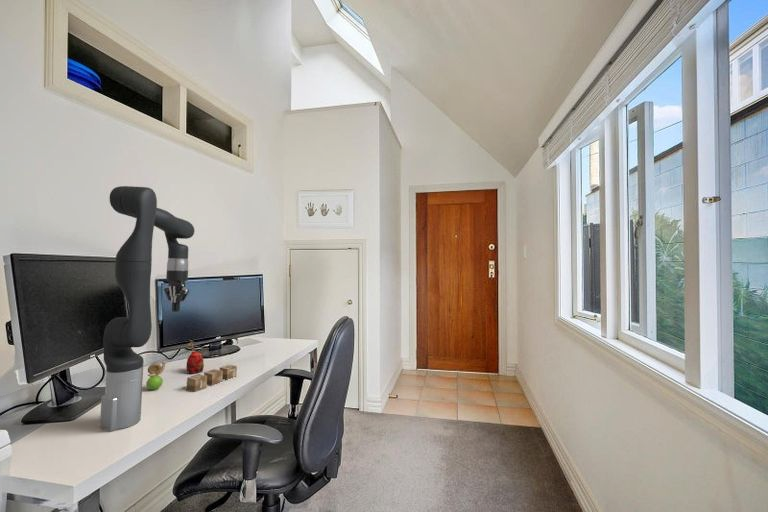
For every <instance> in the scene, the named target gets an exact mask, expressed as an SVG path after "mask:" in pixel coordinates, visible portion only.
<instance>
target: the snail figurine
mask: <svg viewBox="0 0 768 512" xmlns="http://www.w3.org/2000/svg"><path fill="white" fill-rule="evenodd" d="M164 359H165V360H163V361H162V362H161V363H162V364H160V363H157V362H155V363H151V364H150V365H149V366H148V367H147V376H148V377H149V378H148V379H147V380H146V384H145V385H146V388H147V389H148V390H151V391H155V390H158V389H159V388H160V387H162V386H163V382H164V380H163V377H162V376H161V375H162V373H163V372H164V370H165V367H166V364H167V357H164Z"/></svg>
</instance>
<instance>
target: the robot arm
mask: <svg viewBox="0 0 768 512" xmlns="http://www.w3.org/2000/svg"><path fill="white" fill-rule="evenodd" d="M109 204H110V207H112V209H113V210H114V211H115V212H116V213H117V214H120V215H124V216H127V217H132V218H134V219H135V220H136V221H135V225H134V228H133V231H132V232H131V234H130V236H128V238H127V239H126V240H125V241H124V243H123V244H122V246H121V247H120V248H119V249H118V251H117V253H116V255H115V265H114V266H115V267H114V277H115V280H116V282H117V285H118V286H119V288H120V290H121V292H122V293H123V295H124V297H125V298H126V301H127V305H128V317H127V316H123V317H122V316H121V317H119V316H118V317H115V318H113V319H111V320H110V321H109V322H108V323H107V324H106V326H105V328H104V332H103V337H102V338H103V339H102V340H103V348H102V349H103V361H104V364H105V367H106V369H105V373H106V374H105V391H104V394H103V395H102V396H101V397H100V401H101V402H100V417H99V418H100V420H99V428H101V429H104V430H106V431H108V432H113V431H116V430H123V429H126V428H129V427H132V426H134V425H136V424H138V423H139V422H140V421H141V417H142V399H143V379H144V378H143V377H144V376H143V375H144V362H145V360H144V357H143V356H141V354H139V353H137V352H135V351H134V350H133V348H140V347H144V346H145V345H146V344H147V343H148V342H149V340H150V338H151V335H152V331H153V330H152V328H153V327H152V326H153V325H152V311H151V310H152V309H151V280H152V279H151V278H152V277H151V276H152V265H153V262H152V261H153V260H152V257H153V256H152V254H153V253H152V252H153V251H152V250H153V238H154V237H153V236H154V228H155V227H156V228H157V229H159V230H161V231H163V232H164V233H163V234H164V236H165V239H166V243H167V251H168V253H167V254H168V255H167V263H166V278H165V279H166V281H167V282H168V285H167V287H165V288H164V289H163V290H164V293H165V296H166V298H167V300H168V301H169V302H170V301H171V312H174V313H177V312H180V309H181V308H180V307H181V302H185V300H186V298H187V296H188V294H189V292H190V289H187V288H186V282H187V281H188V280H189V246H188V245H187V244H183V243H179V241H178V239H185V240H187V239H190V238H192V237H193V236H194V235H195V227H194V225H193V224H192V223H191V222H190V221H188V220H185V219H183V218H180V217H177V216H175V215H174V214H172V213H171V212H169V211H167V210H165V209H162V208H159V207H158V200H157V194H156V192H155V191H154V190H153V189H152V188H150V187H148V186H147V187H146V186H132V185H131V186H129V185H122V186H121V185H120V186H117V187H114V188H113V189H111V192H110V193H109Z"/></svg>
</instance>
